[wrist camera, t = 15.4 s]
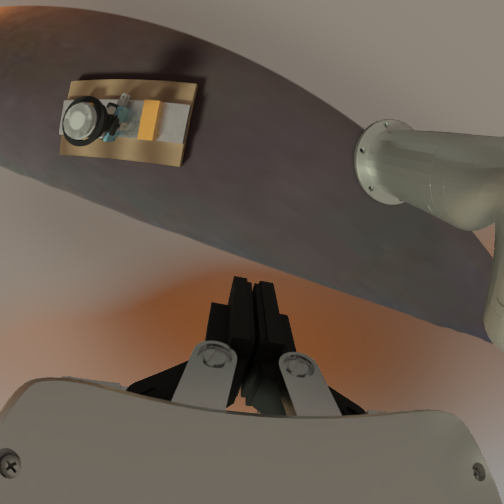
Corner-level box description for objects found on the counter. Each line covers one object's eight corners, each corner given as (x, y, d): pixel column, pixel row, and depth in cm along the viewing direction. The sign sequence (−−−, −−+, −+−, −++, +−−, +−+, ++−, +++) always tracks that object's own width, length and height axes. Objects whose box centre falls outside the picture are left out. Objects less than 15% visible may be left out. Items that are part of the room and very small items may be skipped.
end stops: (163, 102, 29) (160, 100, 28) (155, 140, 31) (152, 140, 30) (83, 99, 28) (77, 98, 26) (77, 134, 30) (71, 135, 28)
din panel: (198, 85, 31) (196, 83, 29) (181, 165, 35) (179, 166, 33) (76, 82, 28) (71, 81, 27) (64, 153, 32) (59, 154, 31)
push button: (114, 89, 28) (75, 76, 19) (147, 102, 29) (114, 90, 20) (93, 134, 30) (50, 137, 21) (124, 149, 31) (86, 154, 22)
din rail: (191, 105, 30) (190, 105, 30) (183, 143, 32) (182, 143, 32) (67, 100, 28) (64, 100, 27) (61, 134, 30) (58, 134, 29)
